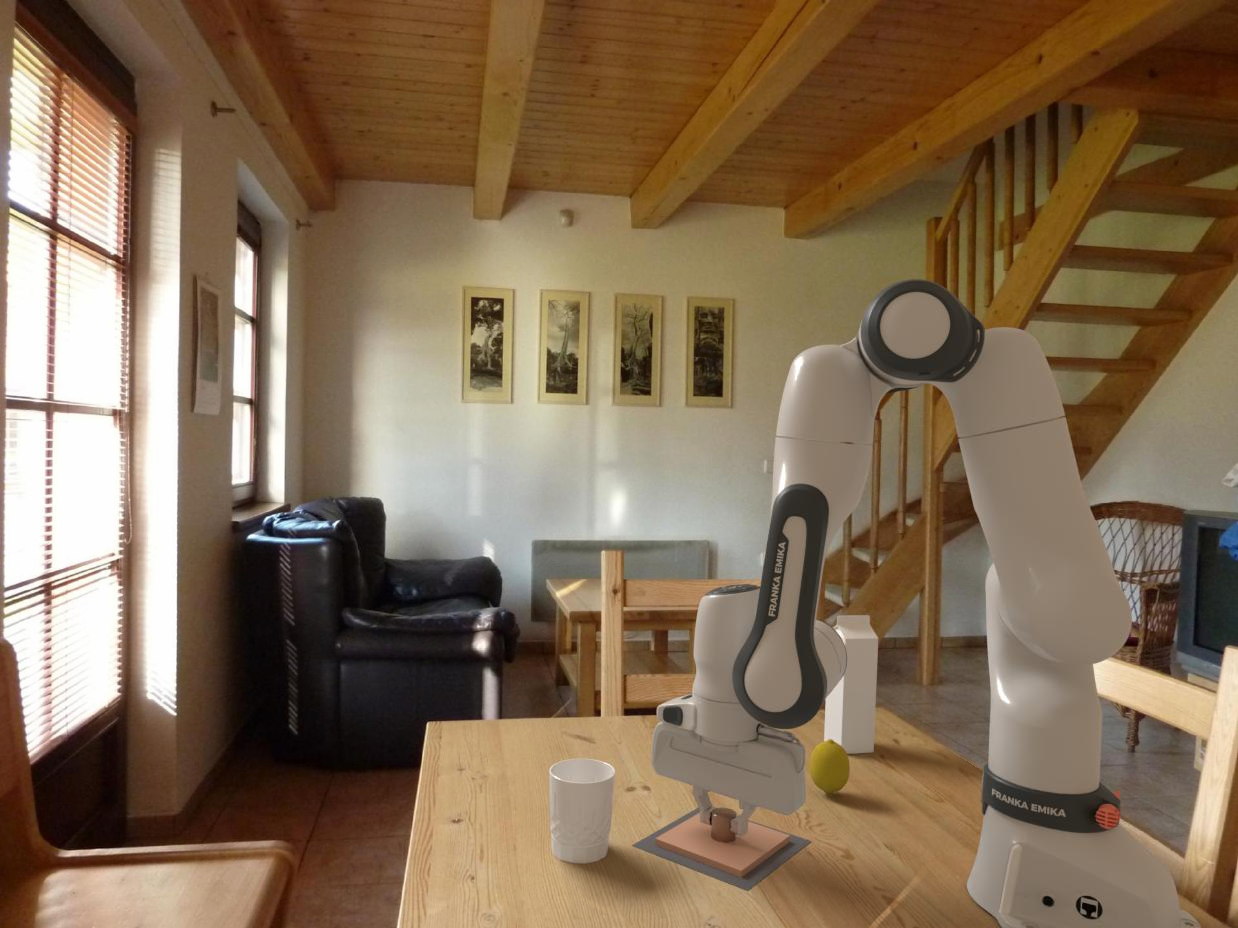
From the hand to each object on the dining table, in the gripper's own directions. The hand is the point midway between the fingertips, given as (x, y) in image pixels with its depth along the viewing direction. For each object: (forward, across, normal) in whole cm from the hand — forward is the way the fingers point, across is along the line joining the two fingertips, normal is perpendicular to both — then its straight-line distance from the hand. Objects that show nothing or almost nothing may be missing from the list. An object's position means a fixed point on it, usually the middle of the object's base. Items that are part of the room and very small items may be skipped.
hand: (723, 827), depth 107 cm
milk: (+2, +3, -45) cm, 45 cm away
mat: (+2, 0, 0) cm, 2 cm away
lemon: (+2, -3, -24) cm, 24 cm away
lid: (+2, 0, 0) cm, 2 cm away
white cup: (+2, +12, +13) cm, 18 cm away
